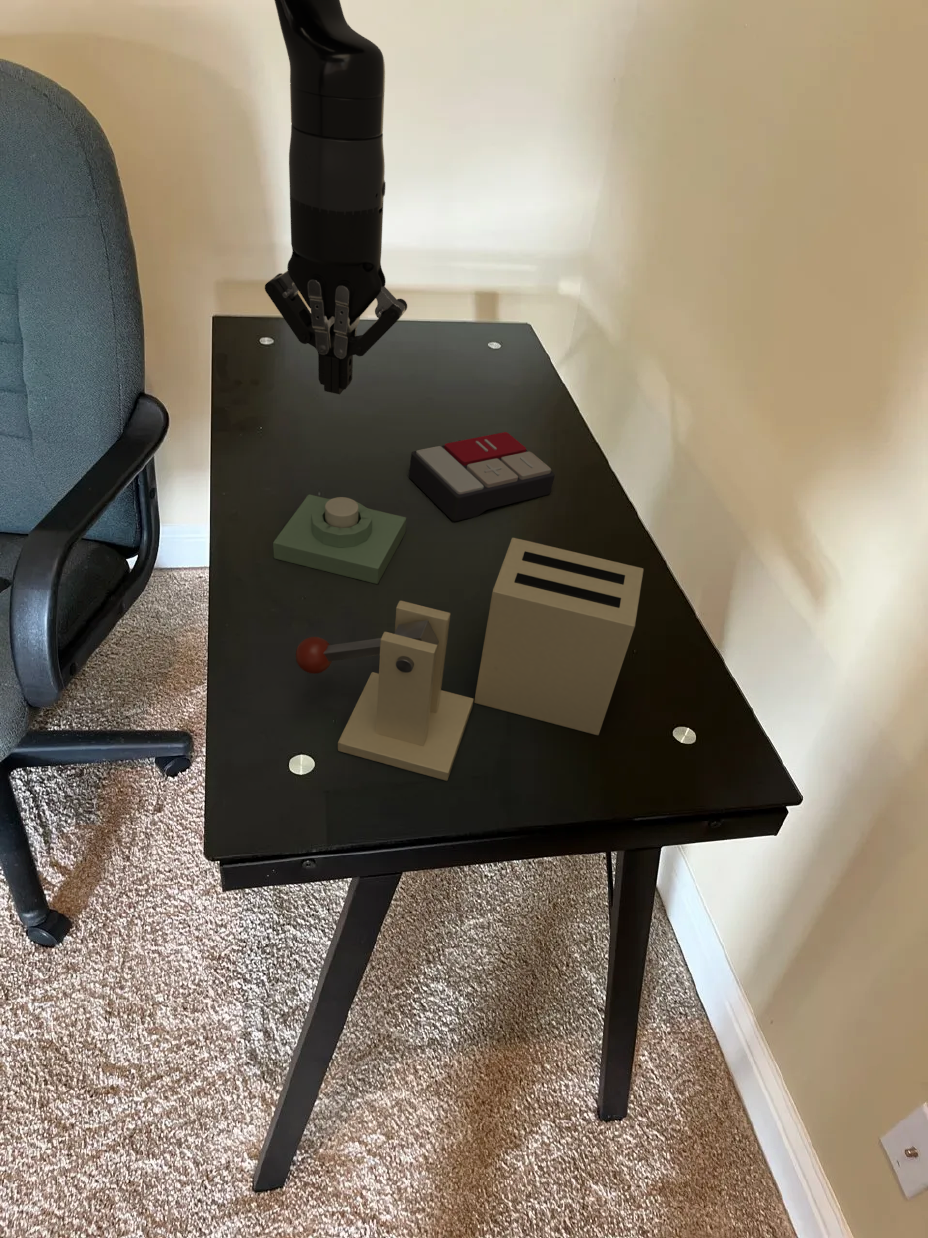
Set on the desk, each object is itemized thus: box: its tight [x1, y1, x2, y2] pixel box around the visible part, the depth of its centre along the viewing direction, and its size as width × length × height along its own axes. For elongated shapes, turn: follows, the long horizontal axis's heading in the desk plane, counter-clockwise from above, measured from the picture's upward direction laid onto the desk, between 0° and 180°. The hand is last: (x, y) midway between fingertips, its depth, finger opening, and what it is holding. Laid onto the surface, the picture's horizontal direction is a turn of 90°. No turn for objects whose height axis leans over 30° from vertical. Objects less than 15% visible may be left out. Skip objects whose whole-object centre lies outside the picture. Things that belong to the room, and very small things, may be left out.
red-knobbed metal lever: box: [295, 620, 439, 675], centre depth 70 cm, size 13×3×3 cm, turn 73°
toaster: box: [473, 537, 644, 736], centre depth 75 cm, size 12×8×14 cm, turn 76°
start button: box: [325, 496, 358, 528], centre depth 90 cm, size 4×4×2 cm
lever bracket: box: [337, 600, 475, 782], centre depth 71 cm, size 10×9×13 cm
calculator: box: [408, 431, 556, 522], centre depth 104 cm, size 11×4×15 cm
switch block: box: [272, 493, 407, 585], centre depth 92 cm, size 12×10×4 cm
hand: (335, 389), depth 78 cm, fingers closed
